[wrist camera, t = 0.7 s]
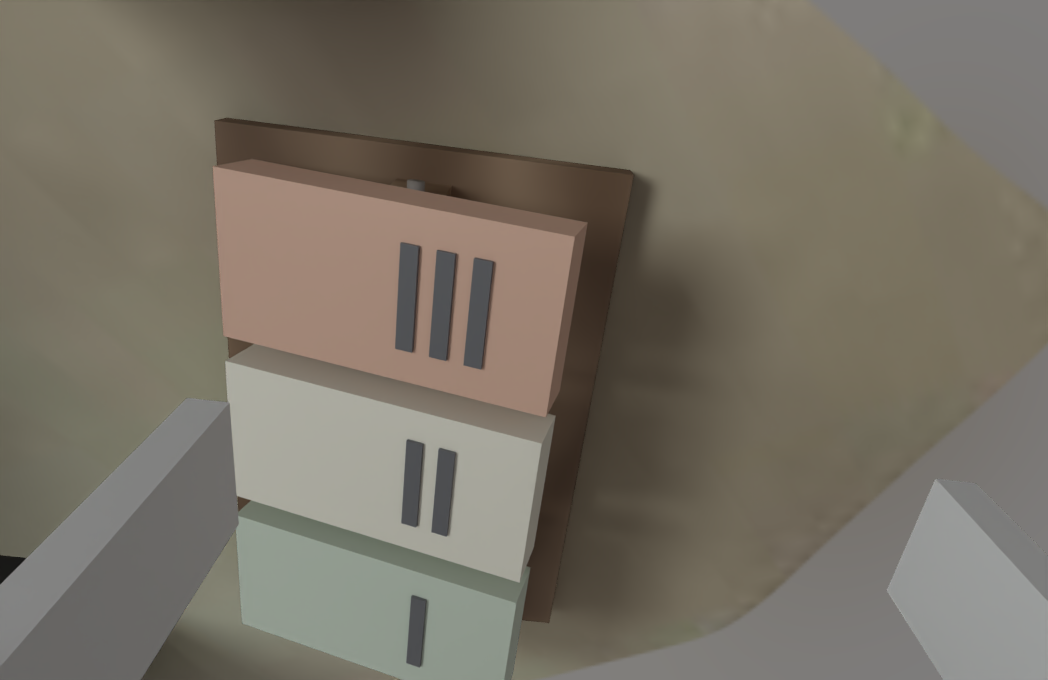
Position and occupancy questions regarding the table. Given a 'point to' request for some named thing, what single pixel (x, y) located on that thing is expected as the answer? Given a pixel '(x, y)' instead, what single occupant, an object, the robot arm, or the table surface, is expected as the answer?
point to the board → (504, 184)
